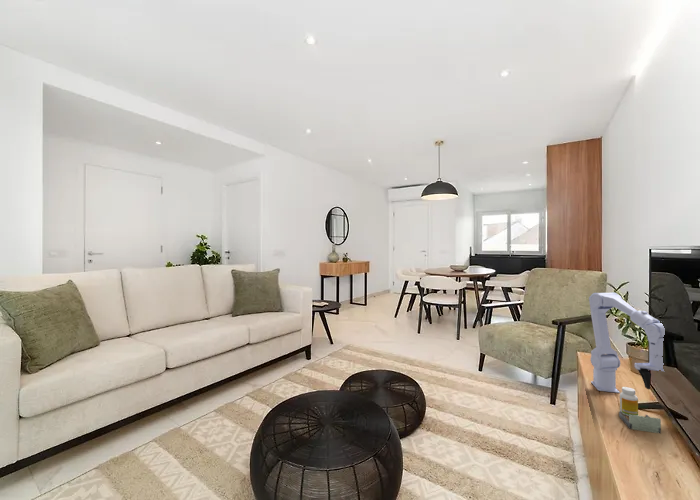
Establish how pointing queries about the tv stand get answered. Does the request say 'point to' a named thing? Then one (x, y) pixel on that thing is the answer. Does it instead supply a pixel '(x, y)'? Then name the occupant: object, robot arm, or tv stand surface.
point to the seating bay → (642, 423)
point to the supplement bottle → (628, 401)
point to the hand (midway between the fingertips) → (659, 389)
